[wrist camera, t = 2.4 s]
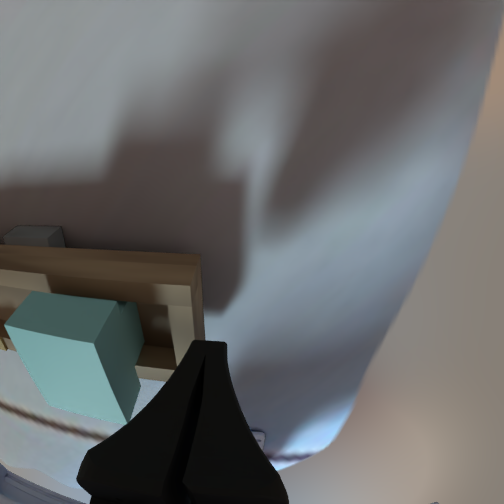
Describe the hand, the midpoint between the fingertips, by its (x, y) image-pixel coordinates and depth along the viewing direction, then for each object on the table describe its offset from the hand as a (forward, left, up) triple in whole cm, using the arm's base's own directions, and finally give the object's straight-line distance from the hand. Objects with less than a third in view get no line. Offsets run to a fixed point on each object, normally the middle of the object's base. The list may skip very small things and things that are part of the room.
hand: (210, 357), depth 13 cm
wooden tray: (0, +11, -5) cm, 12 cm away
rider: (0, +6, -2) cm, 6 cm away
